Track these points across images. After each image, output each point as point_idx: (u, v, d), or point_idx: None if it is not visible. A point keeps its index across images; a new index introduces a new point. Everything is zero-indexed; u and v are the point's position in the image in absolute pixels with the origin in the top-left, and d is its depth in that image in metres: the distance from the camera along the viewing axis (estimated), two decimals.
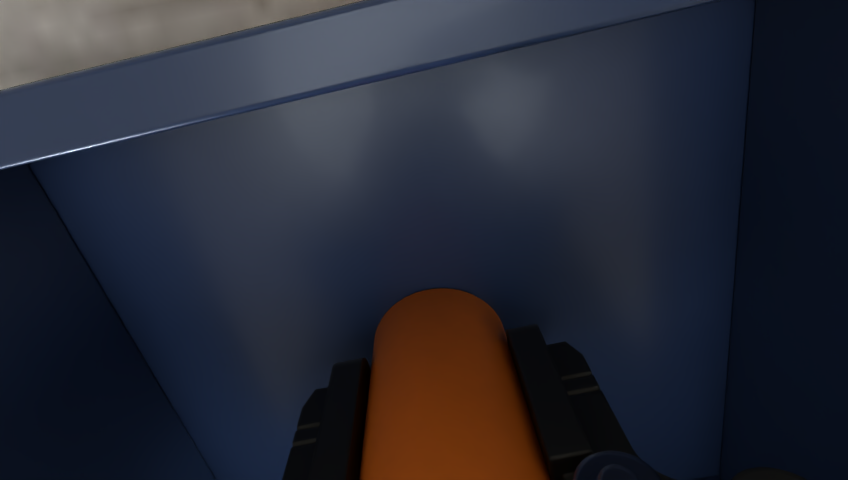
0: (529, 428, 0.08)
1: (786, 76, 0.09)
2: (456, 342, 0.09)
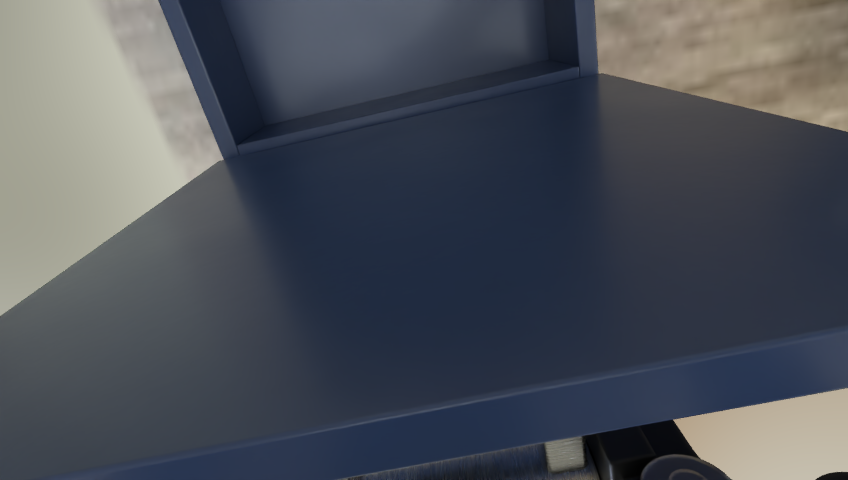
0: None
1: None
2: None
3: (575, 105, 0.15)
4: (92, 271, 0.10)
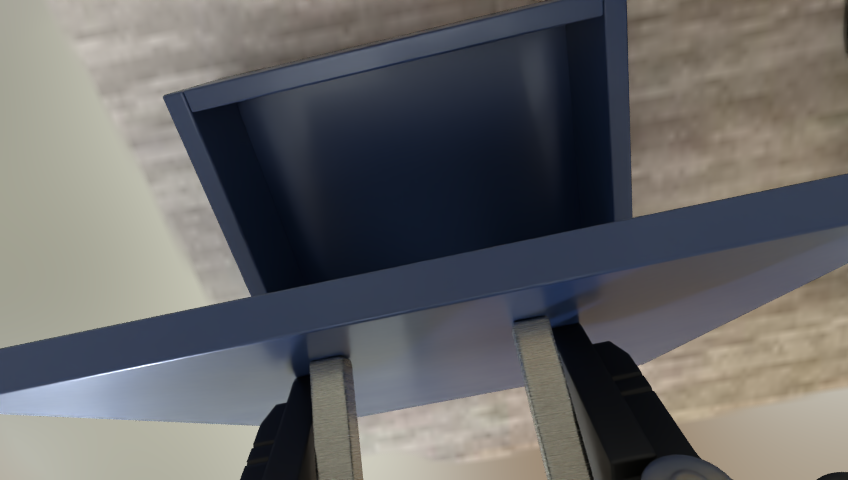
0: None
1: (575, 63, 0.20)
2: None
3: None
4: None
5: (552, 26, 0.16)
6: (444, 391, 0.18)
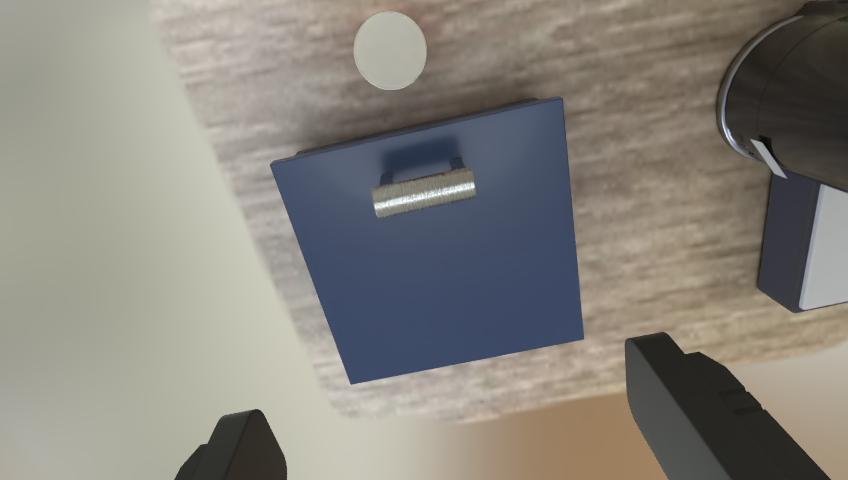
0: None
1: None
2: None
3: None
4: None
5: None
6: (443, 314, 0.31)
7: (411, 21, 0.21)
